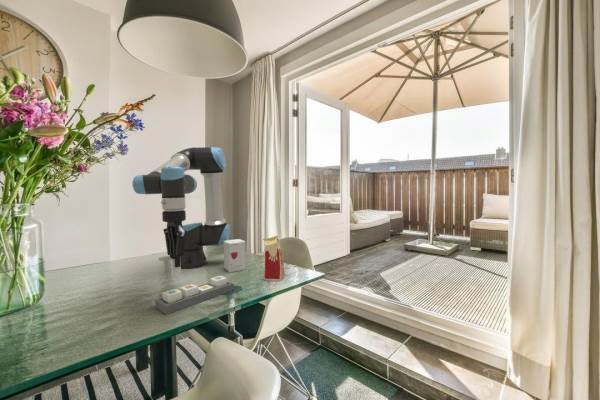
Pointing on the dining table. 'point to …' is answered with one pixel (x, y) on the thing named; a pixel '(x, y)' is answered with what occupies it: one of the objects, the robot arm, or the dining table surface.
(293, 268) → the dining table surface
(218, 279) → the key slate
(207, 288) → the key ochre
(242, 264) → the supplement box
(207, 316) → the dining table surface
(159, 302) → the keypad
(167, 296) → the key teal
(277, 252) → the milk carton
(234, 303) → the dining table surface
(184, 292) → the key rust
